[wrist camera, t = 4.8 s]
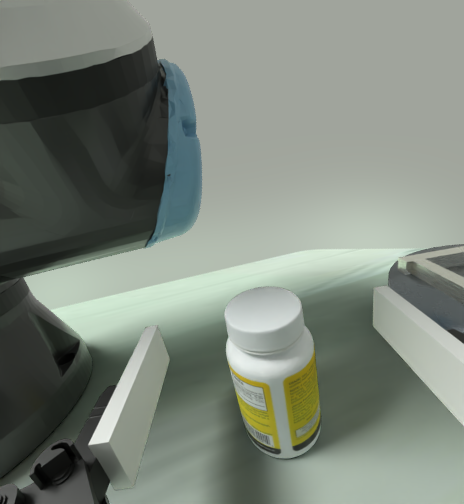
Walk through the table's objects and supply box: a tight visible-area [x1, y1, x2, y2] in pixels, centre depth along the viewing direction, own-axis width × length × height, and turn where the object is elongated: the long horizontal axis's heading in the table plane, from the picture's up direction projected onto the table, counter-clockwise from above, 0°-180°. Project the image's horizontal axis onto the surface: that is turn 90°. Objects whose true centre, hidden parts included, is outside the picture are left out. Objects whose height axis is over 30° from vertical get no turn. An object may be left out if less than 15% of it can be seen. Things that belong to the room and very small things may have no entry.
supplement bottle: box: [224, 287, 321, 458], centre depth 14 cm, size 5×5×8 cm
